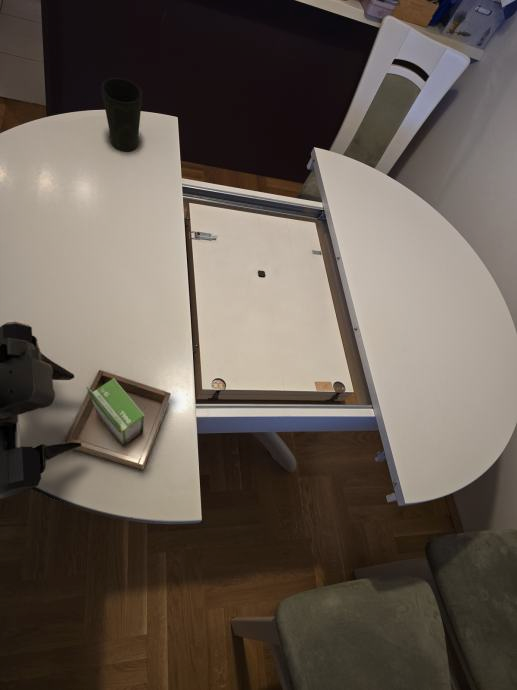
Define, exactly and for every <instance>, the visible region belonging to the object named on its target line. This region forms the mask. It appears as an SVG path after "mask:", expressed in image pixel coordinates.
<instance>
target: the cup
mask: <svg viewBox="0 0 517 690" xmlns="http://www.w3.org/2000/svg"><path fill="white" fill-rule="evenodd" d="M100 89H101V94H102V99H103V104H104V110H105V115H106V120H107V124H108V125H107V126H108V131H109V136H110V142H111V145H112V146H113V148H114V149H116V150H117V151H120V152H123V153H130V152H134V151H136V150H137V148H138V145H139V144H138V143H139V133H140V123H141V113H142V112H141V111H142V102H143V101H142V100H143V91H142V89H141V87H140V86H139V85H138V84H137V83H136V82H134V81H132V80H131V79H128V78H123V77H110V78H107V79H105V80H104V81H103V82H102V83H101V87H100Z"/></svg>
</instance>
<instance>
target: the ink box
mask: <svg viewBox="0 0 517 690" xmlns="http://www.w3.org/2000/svg"><path fill="white" fill-rule="evenodd" d="M85 387H86V389H87V392H88V391H89V394H90V396H91V399H92V401H93V404H94V407H95V409H96V413H97V415H98V416H99V417H100V418H101V420H102V421H103V422H104V424H105V425H106V426H107V427H108V429H109V430H110V431H111V432H112V434H113V435H114V436H115V437H116V438H117V440H118V441H119V442H120V443H121V444H122V446H125V445H126V444H127V443H129V442H130V441H131V440H132V439H134V438H135V437H136V436H138V435H139V434H140V433H141V432H143V428H144V414H143V413H142V411H141V410H140V409H139V408H138V407H137V405H136V404H135V403H134V402H133V401H132V399H131V398H130V397H129V396H128V395H127V393H126V392H125V391H124V390H123V389H122V387H121V386H120V385H119V384H118V383H117V381H116V380H115V379H114V378H113V379H112V380H110V381H109V382H107V383H106V384H104V385H102V386H101V387H99V388H98V389H96V390H95V391H93V392H92V391H91V390H90V387H89V386H88V385H86V386H85Z"/></svg>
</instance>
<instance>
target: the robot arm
mask: <svg viewBox="0 0 517 690" xmlns="http://www.w3.org/2000/svg"><path fill="white" fill-rule="evenodd" d="M74 378H75V374H74V373H73V372H71V371H69V370H67V369H66V368H64V367H63V366H61V365H60V364H57V363H56V362H55V361H53V360H51V359H50V358H49V357H47V356H46V355H45V354H43V353H42V352H41V348H40V346H39V343H38V338H37V337H36V336H35V335H33V328H32V326H31V325H29V324H27V323H22V322H18V321H9V322H5V323H4V324H2V325H1V326H0V500H1V499H7V498H11V497H13V496H16V495H19V494H20V493H23V492H25V491H28V490H30V489H33V488H35V487H37V486H39V485H40V482H41V480H42V474H43V473H44V472H45V470H46V468H47V462H48V461H49V460H51V459H53V458H56V457H58V456H61V455H63V454H65V453H68V452H70V451H73V450H75V449H76V448H78V447H80V446H81V443H75V442H72V443H65V442H63V443H56V444H49V445H47V444H45V443H41V444H38V445H36V446H34V447H33V446H21V434H20V433H21V432H20V431H21V430H20V429H21V428H20V415H24V414H26V413H29V412H33V411H36V410H39V409H44V408H47V407H49V406H51V405H52V404H53V403H54V401H55V398H56V392H55V390H54V382H53V381H71V380H73V379H74Z"/></svg>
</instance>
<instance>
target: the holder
mask: <svg viewBox="0 0 517 690" xmlns="http://www.w3.org/2000/svg"><path fill="white" fill-rule="evenodd" d="M113 378H114V379H115V380H116V381H117V383H118V384H119V385H120V386H121V387H122V389H123V390H124V391H125V392H126V393H127V395H128V396H129V397H130V398H131V399H132V401H133V402H134V403H135V404H136V405H137V407H138V408H139V409H140V410H141V411H142V413H143V414H144V428H143V432H141V433H140V434H139V435H138V436H136V437H135V438H134V439H132V440H131V441H130V442H129V443H127V444H126V445H125V446H122V444H121V443H120V442H119V441H118V440H117V438H116V437H115V436H114V435H113V434H112V432H111V431H110V430H109V429H108V427H107V426H106V425H105V424H104V422H103V421H102V420H101V418H100V417H99V416H98V415H97V413H96V409H95V407H94V404H93V401H92V399H91V396H90V394H89V391H88V390H87V393H86V396H85V397H84V400H83V402H82V404H81V405H80V408H79V410H78V412H77V413H76V416H75V418H74V419H73V422H72V423H71V425H70V428H69V429H68V432H67V434H66V435H65V438H64V440H63V443H72V442H75V443H81V446H80V447H78V448H76V449H74V450H76V451H79V452H82V453H86V454H89V455H92V456H95V457H99V458H102V459H106V460H109V461H112V462H114V463H119V464H122V465H124V466H125V465H126V466H128V467H132V468H135V469H138V470H141V471H144V468H145V466H146V464H147V460H148V458H149V457H150V456H149V455H150V453H151V450H152V447H153V445H154V443H155V440H156V437H157V435H158V433H159V430H160V426H161V424H162V422H163V419H164V416H165V413H166V411H167V408H168V406H169V403H170V400H171V399H170V398H171V392H168V391H165V390H162V389H159V388H156V387H153V386H150V385H147V384H144V383H141V382H138V381H135V380H132V379H129V378H126V377H122V376H119V375H117V374H113V373H111V372H108V371H104V370H102V369H98V371H97V373H96V376H95V377H94V380H93V381H92V384H91V385H90V387H89V389H90V390H91V391H92V392H93V391H95V390H96V389H98V388H99V387H101V386H102V385H104V384H106V383H107V382H109V381H110V380H112V379H113Z"/></svg>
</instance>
